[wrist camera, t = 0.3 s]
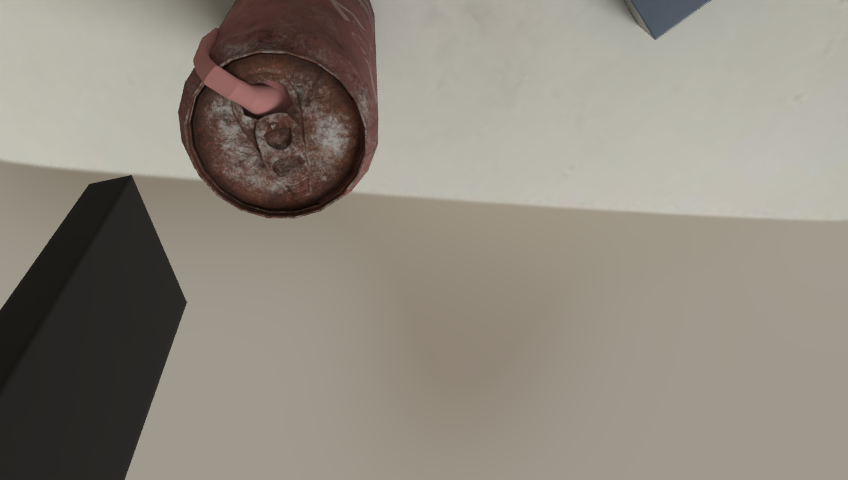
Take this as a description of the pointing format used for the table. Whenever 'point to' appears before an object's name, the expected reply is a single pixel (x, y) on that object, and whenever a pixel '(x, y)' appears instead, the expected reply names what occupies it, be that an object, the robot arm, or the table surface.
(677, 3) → the grey button base
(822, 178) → the table surface
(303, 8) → the can
